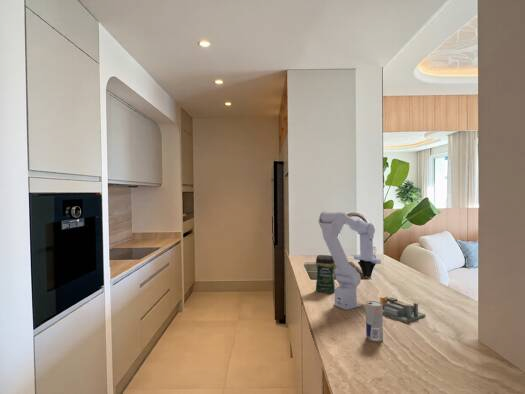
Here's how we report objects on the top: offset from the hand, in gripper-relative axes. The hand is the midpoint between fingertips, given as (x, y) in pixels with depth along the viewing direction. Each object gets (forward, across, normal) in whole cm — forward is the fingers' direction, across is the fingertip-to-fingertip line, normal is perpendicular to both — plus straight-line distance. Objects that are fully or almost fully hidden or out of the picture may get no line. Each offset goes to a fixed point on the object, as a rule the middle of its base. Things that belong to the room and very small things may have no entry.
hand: (367, 276), depth 150 cm
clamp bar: (+6, -21, +5) cm, 22 cm away
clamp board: (+10, -20, +5) cm, 23 cm away
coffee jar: (+10, +20, +9) cm, 24 cm away
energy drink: (+10, -31, +32) cm, 46 cm away
